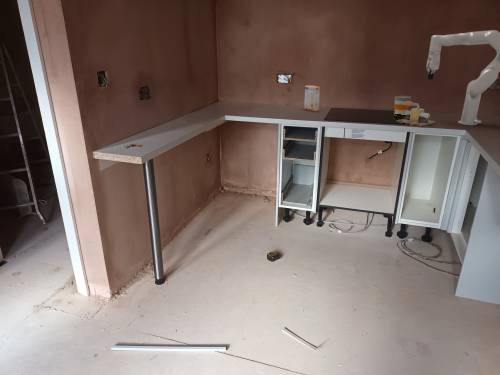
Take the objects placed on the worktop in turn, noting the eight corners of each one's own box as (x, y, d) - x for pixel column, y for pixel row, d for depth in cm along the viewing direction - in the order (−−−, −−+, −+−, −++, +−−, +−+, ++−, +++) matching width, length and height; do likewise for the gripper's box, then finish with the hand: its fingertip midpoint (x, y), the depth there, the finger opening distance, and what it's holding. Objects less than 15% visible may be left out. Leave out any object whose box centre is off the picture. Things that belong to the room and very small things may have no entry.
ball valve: (429, 122, 280) (431, 110, 277) (424, 123, 277) (426, 111, 274) (407, 118, 294) (409, 106, 290) (403, 119, 291) (404, 107, 287)
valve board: (435, 123, 284) (436, 117, 282) (420, 127, 273) (421, 120, 271) (411, 119, 299) (412, 113, 297) (396, 122, 288) (397, 116, 286)
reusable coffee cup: (401, 116, 307) (404, 98, 301) (389, 114, 317) (391, 96, 311) (411, 115, 312) (414, 96, 307) (399, 112, 322) (401, 95, 317)
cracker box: (319, 111, 333) (320, 86, 325) (313, 111, 330) (315, 87, 322) (309, 108, 344) (310, 85, 336) (303, 109, 341) (304, 85, 333)
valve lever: (420, 108, 282) (421, 103, 280) (418, 109, 280) (418, 103, 279) (407, 106, 290) (408, 101, 289) (405, 106, 289) (405, 101, 287)
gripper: (433, 53, 268) (429, 80, 275) (444, 53, 276) (440, 79, 283) (423, 53, 273) (419, 79, 280) (435, 52, 281) (430, 78, 288)
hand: (430, 79), depth 282 cm, fingers closed
